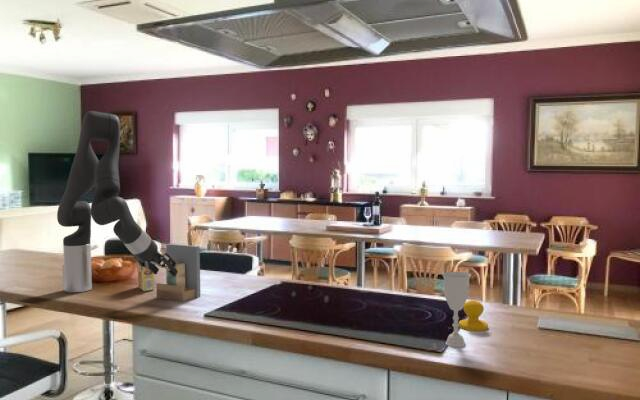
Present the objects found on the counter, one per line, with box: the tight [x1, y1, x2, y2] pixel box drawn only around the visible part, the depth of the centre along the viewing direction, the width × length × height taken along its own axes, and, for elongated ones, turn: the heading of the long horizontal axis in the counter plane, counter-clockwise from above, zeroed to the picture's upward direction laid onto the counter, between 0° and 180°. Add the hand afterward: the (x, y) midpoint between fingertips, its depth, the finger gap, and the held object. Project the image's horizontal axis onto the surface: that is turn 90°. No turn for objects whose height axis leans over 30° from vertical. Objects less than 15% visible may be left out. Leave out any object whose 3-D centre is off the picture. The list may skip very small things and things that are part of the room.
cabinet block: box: [165, 262, 185, 289], centre depth 185 cm, size 5×4×9 cm
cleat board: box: [155, 243, 201, 302], centre depth 186 cm, size 14×8×18 cm, turn 62°
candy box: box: [136, 261, 155, 292], centre depth 199 cm, size 9×4×15 cm, turn 33°
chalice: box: [441, 271, 472, 348], centre depth 135 cm, size 7×7×18 cm
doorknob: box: [458, 299, 489, 332], centre depth 150 cm, size 8×8×8 cm
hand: (166, 273), depth 181 cm, fingers open, 8 cm apart
